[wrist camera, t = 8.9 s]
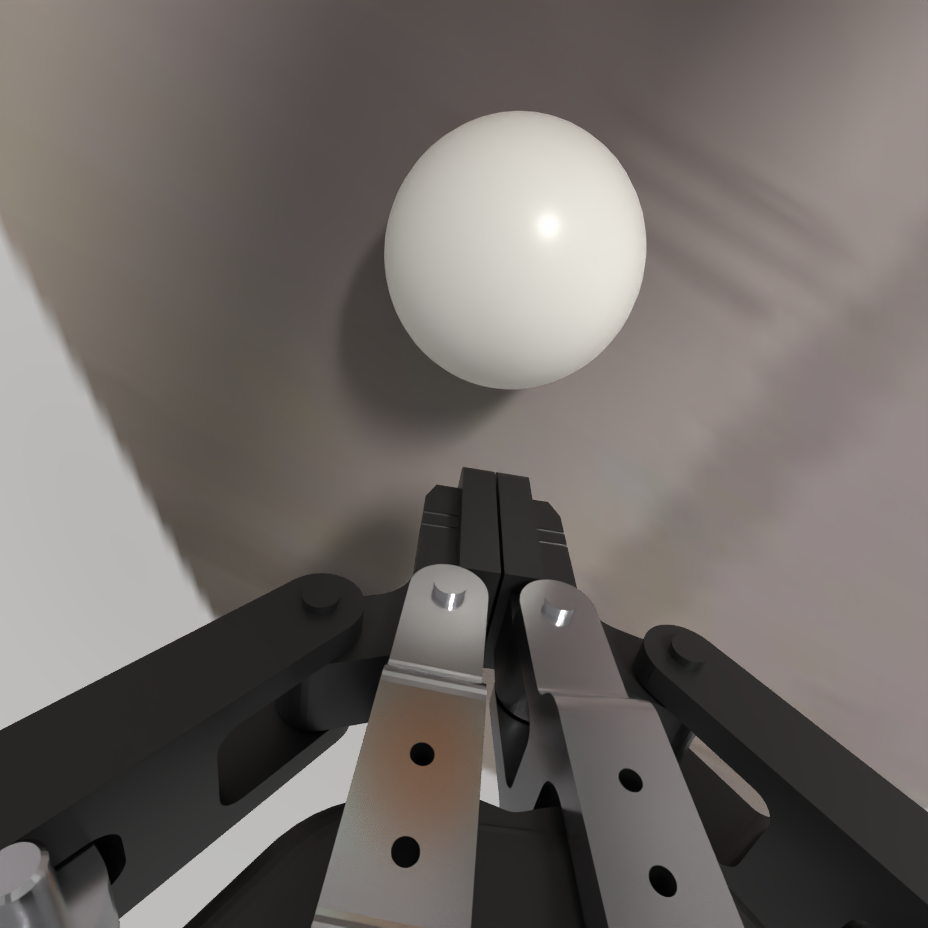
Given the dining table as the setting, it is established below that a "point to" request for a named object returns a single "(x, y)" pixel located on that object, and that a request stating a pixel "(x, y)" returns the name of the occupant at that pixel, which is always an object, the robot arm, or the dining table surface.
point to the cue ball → (515, 250)
